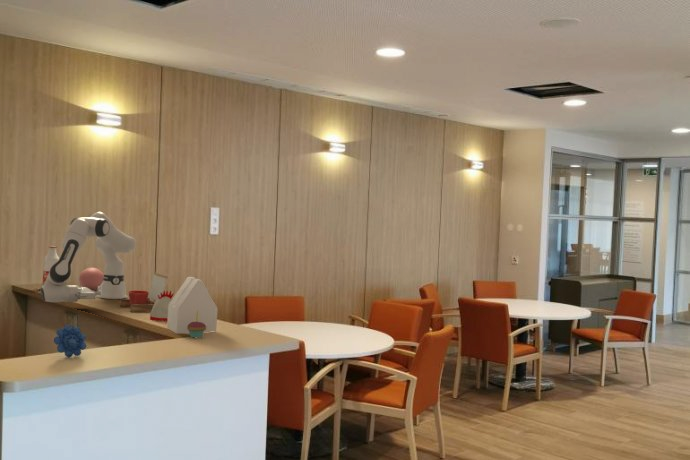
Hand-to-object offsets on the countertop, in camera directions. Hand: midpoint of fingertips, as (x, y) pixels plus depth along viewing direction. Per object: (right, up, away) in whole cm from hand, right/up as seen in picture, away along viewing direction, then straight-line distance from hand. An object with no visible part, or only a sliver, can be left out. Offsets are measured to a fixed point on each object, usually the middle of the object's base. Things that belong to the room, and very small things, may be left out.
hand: (100, 293), depth 371 cm
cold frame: (+18, -10, +11) cm, 23 cm away
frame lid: (+27, +2, +15) cm, 31 cm away
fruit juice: (-57, -4, +69) cm, 90 cm away
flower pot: (+17, -10, +11) cm, 23 cm away
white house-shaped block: (+60, -14, -46) cm, 77 cm away
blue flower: (+32, -13, -121) cm, 126 cm away
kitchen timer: (+40, -12, -18) cm, 45 cm away
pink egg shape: (-31, -6, +76) cm, 82 cm away
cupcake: (+66, -14, -63) cm, 92 cm away
